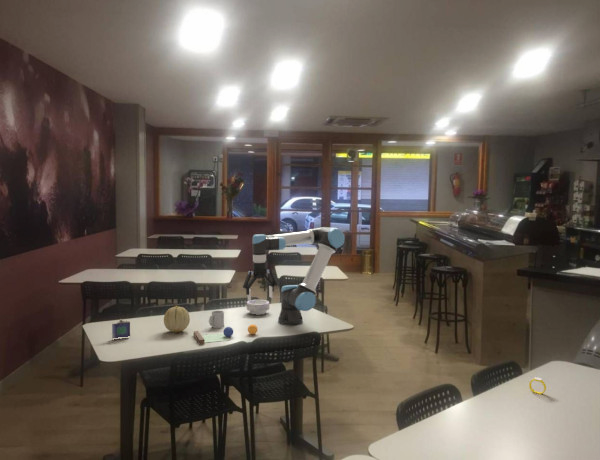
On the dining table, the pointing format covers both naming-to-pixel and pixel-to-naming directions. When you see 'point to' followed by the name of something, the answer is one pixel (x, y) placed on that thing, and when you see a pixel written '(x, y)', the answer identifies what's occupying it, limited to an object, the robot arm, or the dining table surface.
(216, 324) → the cup
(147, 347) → the dining table surface
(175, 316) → the cantaloupe
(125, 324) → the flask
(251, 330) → the orange ball
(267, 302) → the paper bowls
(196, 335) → the backstop rail
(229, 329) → the navy ball
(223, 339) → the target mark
